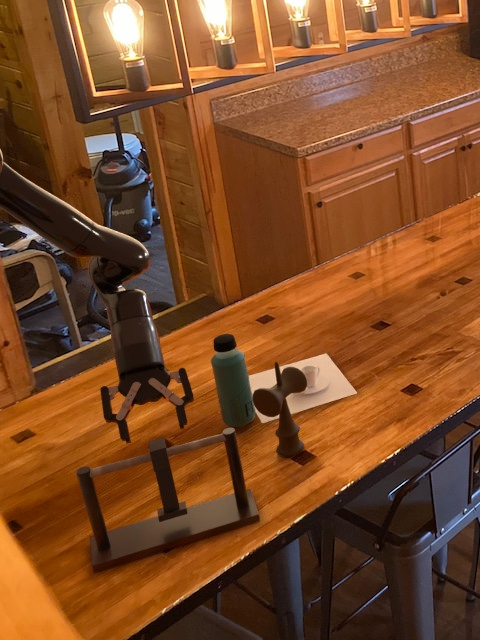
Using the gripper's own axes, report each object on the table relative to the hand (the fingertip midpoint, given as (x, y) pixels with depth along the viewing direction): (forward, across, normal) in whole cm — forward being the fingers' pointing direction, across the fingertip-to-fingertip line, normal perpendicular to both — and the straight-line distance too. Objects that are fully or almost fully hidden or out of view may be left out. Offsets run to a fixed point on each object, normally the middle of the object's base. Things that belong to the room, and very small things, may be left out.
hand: (155, 435), depth 164 cm
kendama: (+7, +22, +14) cm, 27 cm away
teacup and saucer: (-10, +28, +30) cm, 42 cm away
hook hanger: (+15, 0, -1) cm, 15 cm away
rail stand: (+16, 0, +4) cm, 17 cm away
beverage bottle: (-3, +15, +24) cm, 28 cm away
